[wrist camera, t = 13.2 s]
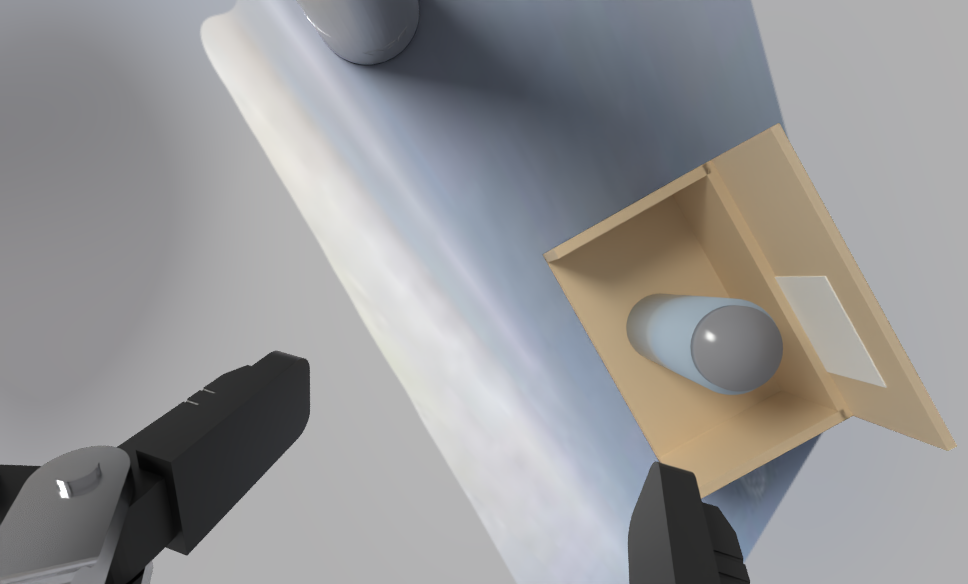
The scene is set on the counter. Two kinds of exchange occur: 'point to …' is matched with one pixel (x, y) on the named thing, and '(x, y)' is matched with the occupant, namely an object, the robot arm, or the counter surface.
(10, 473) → the robot arm
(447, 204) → the counter surface
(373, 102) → the counter surface
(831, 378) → the mailer
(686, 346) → the canister
